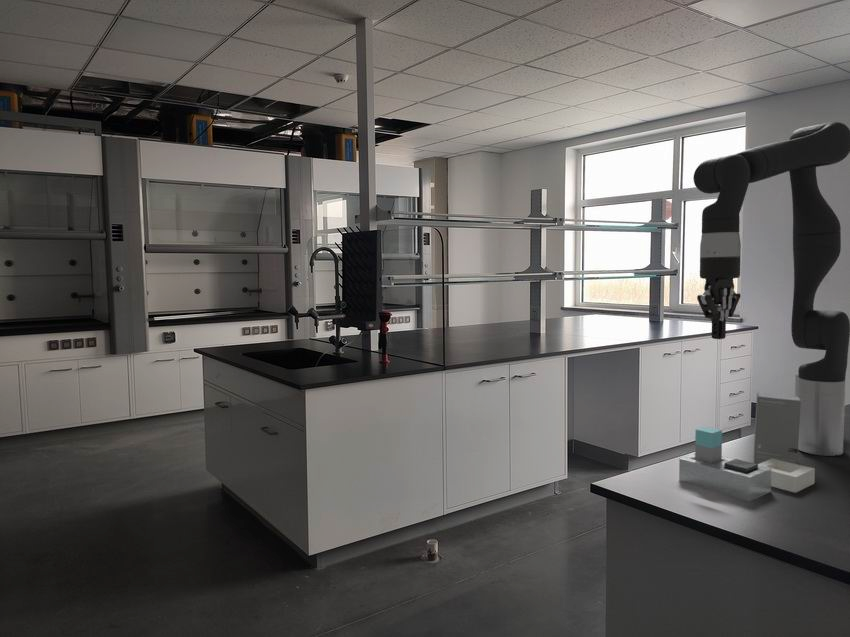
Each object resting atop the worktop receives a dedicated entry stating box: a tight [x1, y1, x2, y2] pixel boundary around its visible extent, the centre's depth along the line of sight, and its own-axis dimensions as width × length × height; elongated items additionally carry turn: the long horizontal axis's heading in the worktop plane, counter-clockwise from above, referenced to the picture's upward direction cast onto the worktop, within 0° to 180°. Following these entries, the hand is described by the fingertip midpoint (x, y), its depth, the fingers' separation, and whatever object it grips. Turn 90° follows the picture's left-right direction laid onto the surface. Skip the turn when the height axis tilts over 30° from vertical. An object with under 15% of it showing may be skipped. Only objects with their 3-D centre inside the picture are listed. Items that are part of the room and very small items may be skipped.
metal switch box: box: [678, 453, 772, 502], centre depth 117 cm, size 8×14×6 cm, turn 35°
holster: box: [758, 459, 816, 493], centre depth 118 cm, size 8×8×4 cm
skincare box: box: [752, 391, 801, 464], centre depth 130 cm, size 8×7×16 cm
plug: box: [694, 426, 723, 465], centre depth 119 cm, size 4×4×11 cm
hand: (718, 338), depth 124 cm, fingers closed
